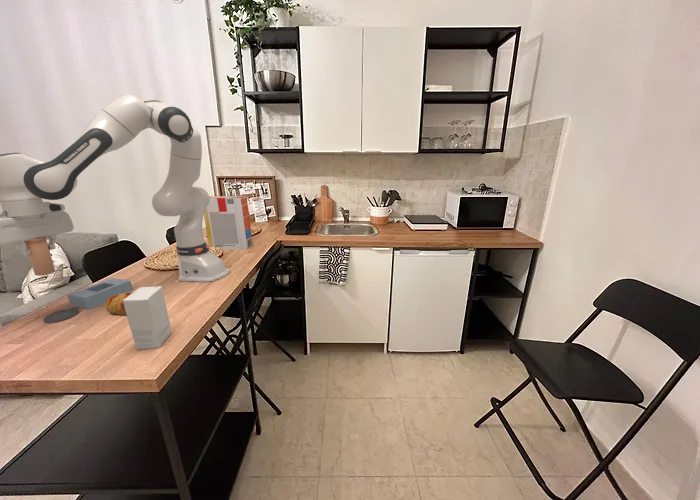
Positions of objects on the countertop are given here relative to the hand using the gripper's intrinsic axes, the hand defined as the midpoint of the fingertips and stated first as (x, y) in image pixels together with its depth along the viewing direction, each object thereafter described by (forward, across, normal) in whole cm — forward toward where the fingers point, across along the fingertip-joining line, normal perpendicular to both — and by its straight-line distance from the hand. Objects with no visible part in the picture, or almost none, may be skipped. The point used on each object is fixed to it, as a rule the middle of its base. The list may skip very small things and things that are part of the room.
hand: (39, 252), depth 94 cm
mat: (+23, 0, 0) cm, 23 cm away
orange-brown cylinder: (+7, 0, +1) cm, 7 cm away
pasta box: (+23, +84, -3) cm, 87 cm away
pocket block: (+23, +14, +1) cm, 27 cm away
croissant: (+24, +10, -18) cm, 31 cm away
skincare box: (+23, -2, -45) cm, 51 cm away
